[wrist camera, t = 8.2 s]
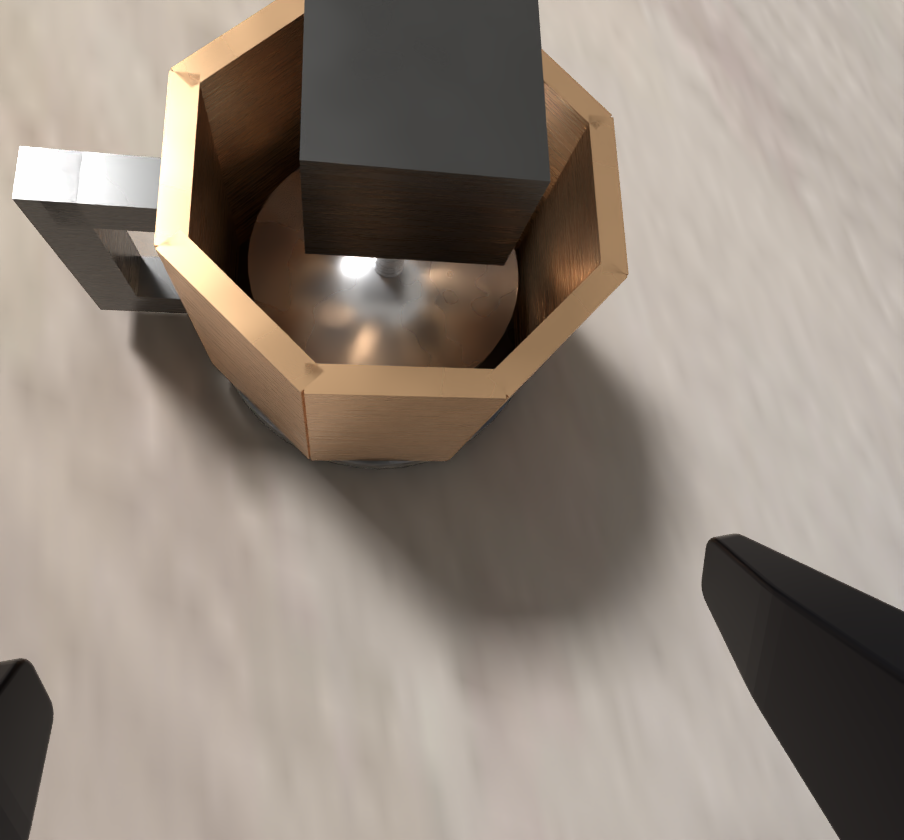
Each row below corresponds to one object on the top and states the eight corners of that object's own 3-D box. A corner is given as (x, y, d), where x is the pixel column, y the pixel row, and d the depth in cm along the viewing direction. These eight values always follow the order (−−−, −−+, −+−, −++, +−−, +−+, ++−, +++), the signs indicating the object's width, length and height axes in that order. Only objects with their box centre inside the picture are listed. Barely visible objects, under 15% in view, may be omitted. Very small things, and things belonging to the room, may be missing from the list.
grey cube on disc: (518, 404, 18) (650, 276, 11) (243, 397, 17) (181, 248, 10) (506, 170, 20) (613, -77, 13) (256, 148, 19) (211, -141, 11)
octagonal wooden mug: (535, 469, 21) (645, 406, 14) (97, 467, 19) (-46, 390, 12) (519, 190, 23) (606, 11, 16) (128, 158, 21) (25, -67, 14)
